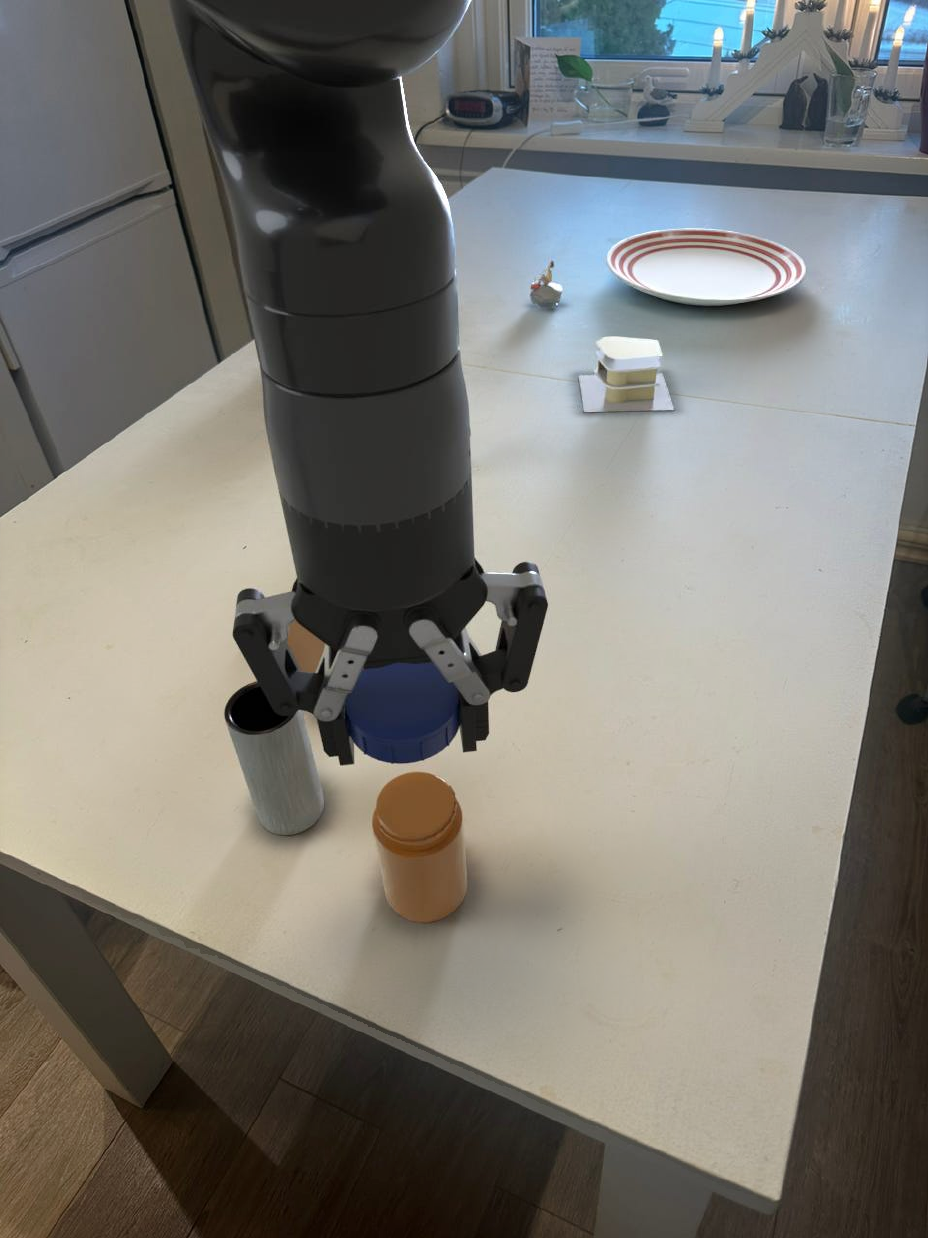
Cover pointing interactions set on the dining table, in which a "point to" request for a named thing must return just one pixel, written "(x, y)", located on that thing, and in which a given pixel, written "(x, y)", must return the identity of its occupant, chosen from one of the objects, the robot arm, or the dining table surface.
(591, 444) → the dining table surface
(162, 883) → the dining table surface
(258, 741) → the grey tumbler
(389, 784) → the honey jar
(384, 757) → the jar lid
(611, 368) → the stacked layers on plate
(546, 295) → the figurine
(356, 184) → the robot arm
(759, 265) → the dinner plate
